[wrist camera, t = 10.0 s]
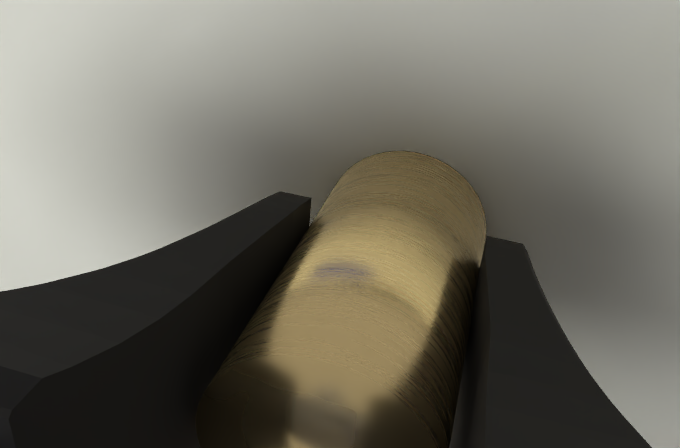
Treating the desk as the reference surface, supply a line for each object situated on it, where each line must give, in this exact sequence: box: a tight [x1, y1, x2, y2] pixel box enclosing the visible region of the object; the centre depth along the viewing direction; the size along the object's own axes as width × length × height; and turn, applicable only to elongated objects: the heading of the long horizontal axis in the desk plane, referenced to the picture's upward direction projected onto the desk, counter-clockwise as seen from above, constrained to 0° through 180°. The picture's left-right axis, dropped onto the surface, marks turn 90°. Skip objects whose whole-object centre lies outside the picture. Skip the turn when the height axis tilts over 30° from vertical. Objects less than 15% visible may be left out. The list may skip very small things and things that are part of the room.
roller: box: [196, 151, 486, 448], centre depth 11 cm, size 3×3×6 cm
